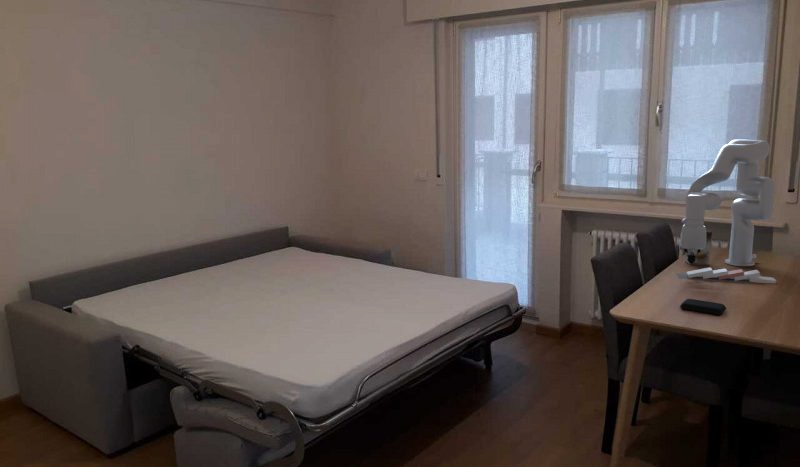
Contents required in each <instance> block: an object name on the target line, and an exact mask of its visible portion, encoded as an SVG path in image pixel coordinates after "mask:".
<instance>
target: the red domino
mask: <svg viewBox="0 0 800 467" xmlns="http://www.w3.org/2000/svg"><path fill="white" fill-rule="evenodd" d="M727 271H728V275H723V276H718V279H719V280H722V279H727V278H733V277H738V276H744V272H745V271H744V270H743V269H742V268H740V269H733V270H727Z"/></svg>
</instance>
